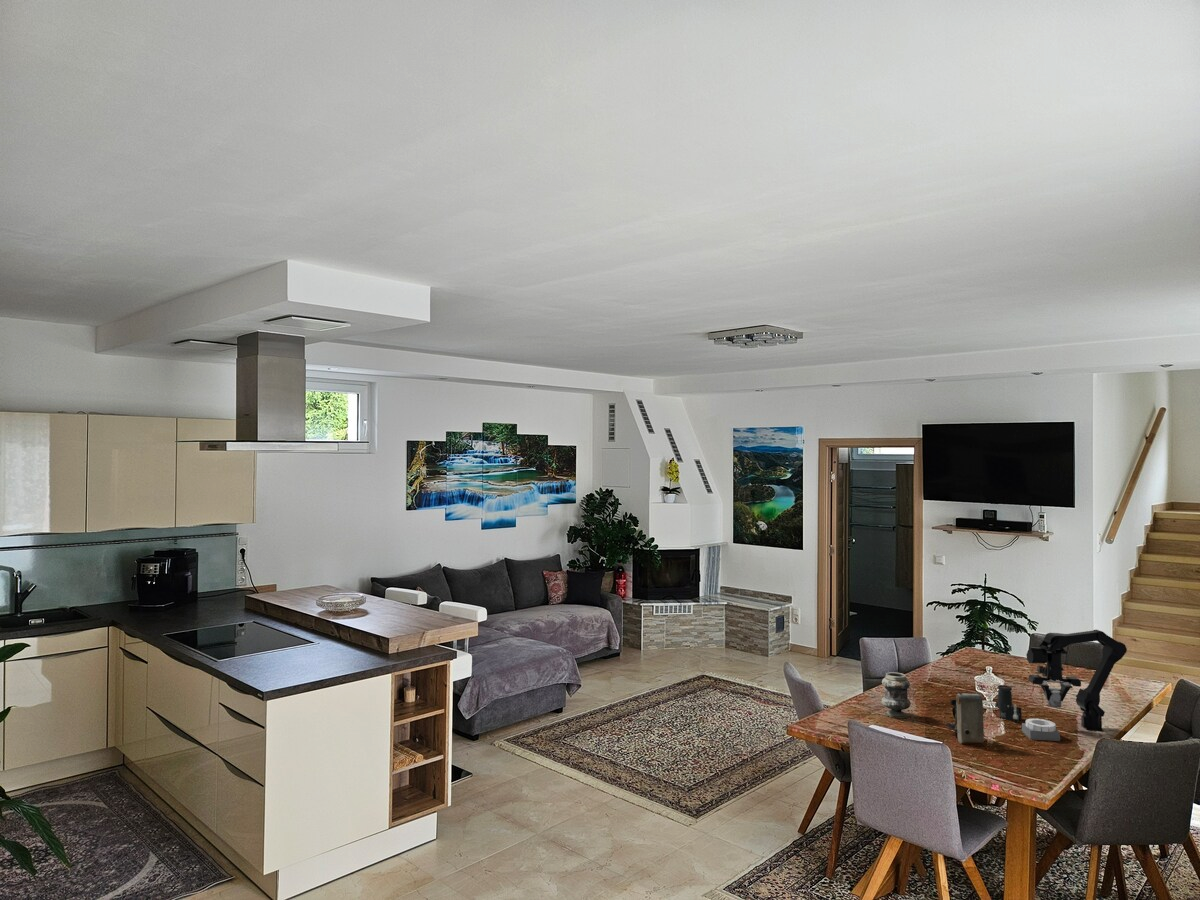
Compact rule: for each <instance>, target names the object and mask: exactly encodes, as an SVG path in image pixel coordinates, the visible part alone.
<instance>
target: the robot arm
mask: <svg viewBox="0 0 1200 900" xmlns="http://www.w3.org/2000/svg"><path fill="white" fill-rule="evenodd" d="M1043 638H1044V639H1043V640H1042V641H1041V643H1039V645H1038V647H1037V646H1036V647H1034V646H1029V647H1028V650H1027V652H1026V660H1027V662H1028V664H1041V665H1037V671H1036V672H1037V674H1029V675H1028V681H1029V682H1030V683H1031V684H1033V685H1039V686H1041V688H1042V691H1043V693H1044V696H1045V699H1046V701H1047V702H1048V701H1049V688H1050V686H1049V685H1048V683H1052V684H1053V683H1054V684H1055V683H1058V684H1059V685H1060V689H1061V698H1062V702H1064V700H1065V698H1066V696H1067V693H1068V692H1069V691H1070V690H1071V689H1073V688H1074V687H1079V689H1078V692H1077V693H1076V695H1075V702H1076V704H1077V706H1078V707H1079V709H1080V711H1081V712H1082V715H1081V716H1080V718H1081V719H1080V720H1081V723H1080V726H1081V727H1083V728H1084V729H1085V730H1087V731H1097V732H1100V731H1102V732H1104V728H1103V722H1102V720H1103V718H1102V717H1104V716H1105V710H1103V708H1101V707H1100V703H1101V692H1102V690H1103V688H1104V686H1105V684H1106V681H1107V680H1108V678H1109V676H1110V674H1111V672H1112V670H1113V668H1114V667H1115V664H1116V663H1118V662H1119V661H1120V660H1122V659H1123V658H1124V656H1126V654H1127V651H1128V648H1127V646H1126V645H1125V643H1124V642H1121V641H1118V640H1116V639H1114V638H1112V637H1111V636H1110V635H1108V634H1106V633H1105V632H1104V631H1101V630H1099V629H1093V630H1086V631H1079V632H1072V633H1070V632H1069V633H1059V632H1048V633H1046V634H1045V636H1044V637H1043ZM1089 642H1098V643H1099V644H1100V645H1101V646H1102V652H1101V653H1102V657H1101V659H1100V661H1099V664H1098V665H1097V667H1096V670H1094V674H1093V675H1092V677H1091V679H1090V681H1089V683H1088V685H1087V687H1086V688H1084V689H1083V688H1080V687H1082V681H1081V680H1080V679H1079V678H1078V677H1076V676H1069V675H1068V676H1065V678H1064V677H1063V671H1064V667H1063V655H1068V651H1067V650H1065V649H1064V648H1067V647H1069V646H1071V645H1075V644H1082V643H1083V644H1084V643H1089ZM1042 664H1043V665H1044V664H1045V667H1044V666H1043V665H1042ZM1039 674H1040V675H1042V676H1040V675H1039Z"/></svg>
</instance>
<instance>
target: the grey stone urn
mask: <svg viewBox="0 0 1200 900" xmlns="http://www.w3.org/2000/svg"><path fill="white" fill-rule="evenodd" d="M881 684H882V685H883V687H884V696H883V697H882V698H881V704H882V705H883V706H884V707H886V708H887V709H889V710H886V711H885V712H884V715H885V716H886V717H888V716H889V718H892V717H893V719H906V718H908V717H909V714H908V713H907V712H905V710H907V709H909V708H910V707H911V704H912V703H911V700H910V699H909V698H908V689H909V688H910V686H911V682H910V681H909V680H908V679H907V676H906V674H904V673H901V672H895V671H894V672H893V671H891V672H890V671H889V672H886V673H885V677H884V678H882V680H881ZM903 710H904V711H903Z"/></svg>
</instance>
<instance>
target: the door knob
mask: <svg viewBox="0 0 1200 900" xmlns="http://www.w3.org/2000/svg"><path fill="white" fill-rule="evenodd" d="M1062 702H1063V701H1062V698H1061V688H1058V687H1049V701H1047V705H1048V706H1049V707H1051V708H1055V709H1056V708H1062V707H1063V706H1062Z"/></svg>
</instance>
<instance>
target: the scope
mask: <svg viewBox="0 0 1200 900" xmlns="http://www.w3.org/2000/svg"><path fill="white" fill-rule="evenodd" d="M997 689H998V691H997V701H996V702H995V704H994V706H995V707H996V708H997V709H998V710H999V718H1000V717H1001V718H1002V719H1001V718H1000V719H1001V720H1004V719H1006V720H1005V721H1010V720H1011V722H1013V723H1017V724H1019V723H1020V722H1021V721H1022V715H1023V712H1022V707H1019V706H1017V704H1013V695H1012V686H1010V685H1006V684H1005V685H1004V684H999V685H997Z"/></svg>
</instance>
